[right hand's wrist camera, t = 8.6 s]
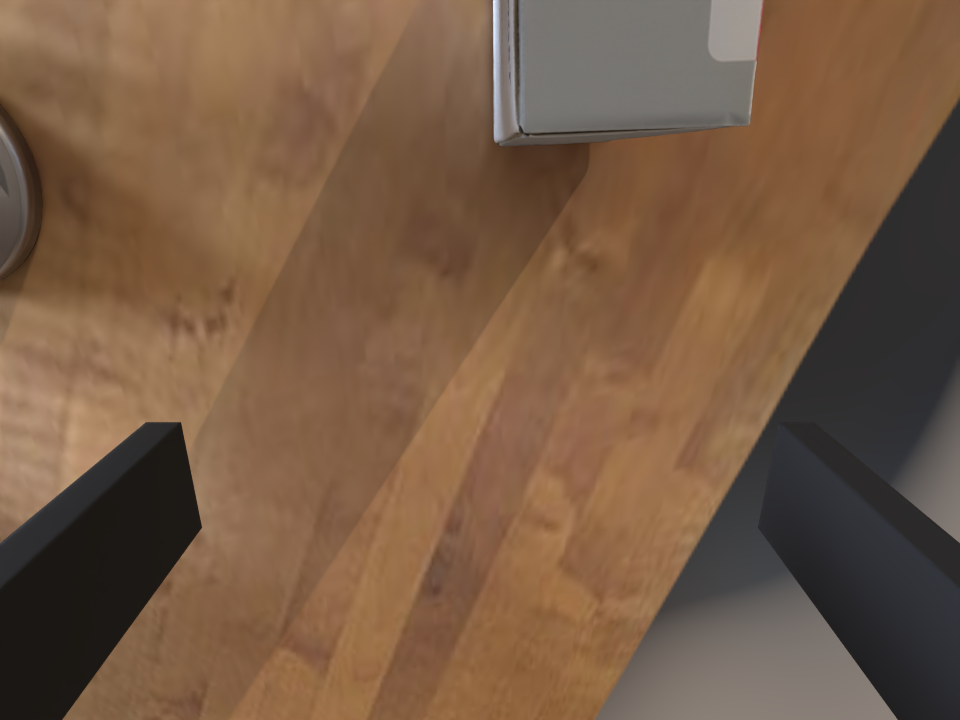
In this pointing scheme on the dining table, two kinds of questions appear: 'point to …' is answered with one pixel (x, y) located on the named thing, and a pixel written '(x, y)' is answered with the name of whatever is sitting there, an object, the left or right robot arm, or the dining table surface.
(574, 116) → the hard drive box
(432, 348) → the dining table surface
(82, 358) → the dining table surface
